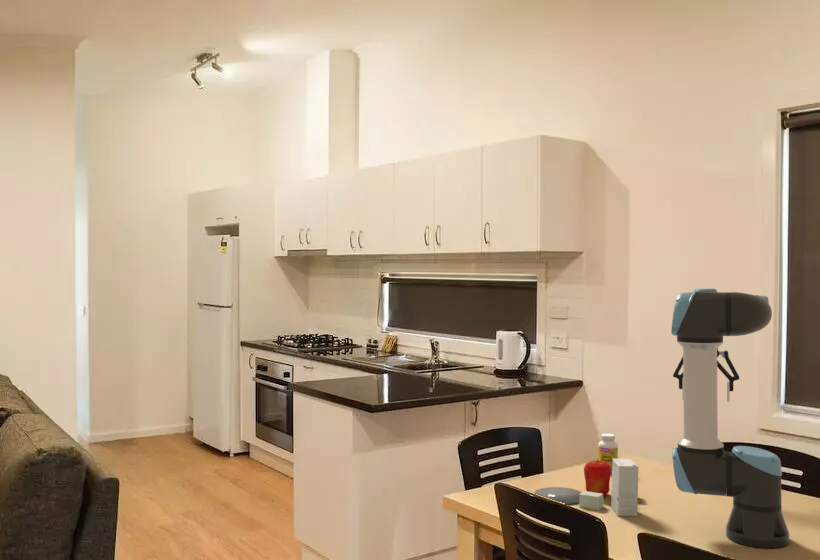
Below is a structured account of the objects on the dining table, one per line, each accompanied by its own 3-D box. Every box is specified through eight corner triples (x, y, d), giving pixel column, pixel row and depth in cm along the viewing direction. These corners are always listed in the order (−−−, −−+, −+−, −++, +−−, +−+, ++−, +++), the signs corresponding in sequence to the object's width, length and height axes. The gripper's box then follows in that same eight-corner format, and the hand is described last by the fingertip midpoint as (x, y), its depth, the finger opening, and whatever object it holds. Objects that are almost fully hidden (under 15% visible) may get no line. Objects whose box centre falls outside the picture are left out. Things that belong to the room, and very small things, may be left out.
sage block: (598, 510, 228) (598, 497, 228) (579, 507, 232) (579, 494, 231) (603, 507, 232) (603, 493, 232) (583, 504, 235) (583, 490, 235)
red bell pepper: (594, 489, 250) (594, 453, 250) (617, 495, 243) (616, 457, 243) (578, 494, 244) (578, 457, 244) (601, 500, 238) (600, 462, 238)
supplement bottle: (598, 472, 270) (597, 436, 270) (598, 468, 277) (598, 432, 277) (617, 473, 269) (617, 437, 269) (618, 469, 275) (617, 433, 275)
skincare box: (610, 507, 230) (610, 458, 230) (631, 507, 230) (630, 458, 230) (618, 516, 222) (617, 465, 222) (639, 516, 222) (638, 465, 222)
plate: (578, 506, 232) (578, 502, 232) (529, 501, 237) (529, 497, 237) (586, 493, 245) (586, 489, 245) (540, 488, 251) (540, 485, 251)
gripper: (746, 335, 251) (747, 400, 252) (666, 333, 261) (666, 396, 261) (747, 337, 244) (747, 404, 245) (664, 335, 254) (665, 399, 254)
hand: (705, 400), depth 253 cm, fingers open, 13 cm apart
